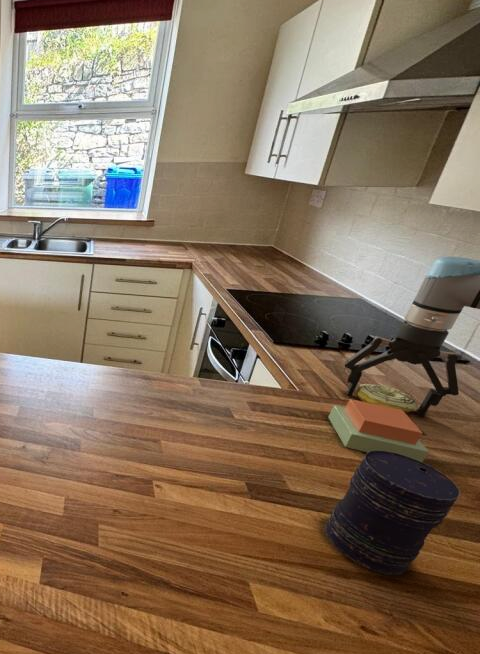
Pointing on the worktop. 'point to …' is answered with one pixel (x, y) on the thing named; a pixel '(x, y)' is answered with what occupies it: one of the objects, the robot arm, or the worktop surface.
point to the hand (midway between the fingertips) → (382, 404)
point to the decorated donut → (386, 397)
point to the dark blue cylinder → (390, 511)
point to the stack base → (371, 438)
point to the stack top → (382, 421)
